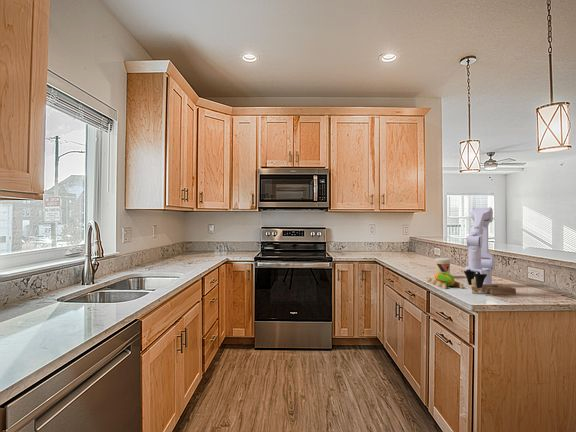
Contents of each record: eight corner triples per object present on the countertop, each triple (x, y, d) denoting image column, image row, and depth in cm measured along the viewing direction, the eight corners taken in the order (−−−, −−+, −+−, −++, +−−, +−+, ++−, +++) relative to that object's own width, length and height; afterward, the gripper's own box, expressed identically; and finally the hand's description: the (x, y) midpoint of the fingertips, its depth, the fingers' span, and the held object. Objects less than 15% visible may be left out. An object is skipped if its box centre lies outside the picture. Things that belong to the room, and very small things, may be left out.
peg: (470, 292, 175) (470, 279, 175) (476, 292, 175) (476, 278, 175) (473, 294, 171) (473, 280, 171) (480, 294, 171) (480, 280, 171)
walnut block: (478, 289, 181) (477, 284, 181) (500, 289, 181) (500, 283, 181) (491, 294, 169) (491, 288, 169) (515, 294, 169) (515, 288, 169)
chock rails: (426, 281, 207) (426, 276, 207) (443, 280, 207) (443, 276, 207) (444, 288, 184) (444, 284, 184) (463, 288, 184) (463, 284, 184)
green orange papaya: (445, 274, 186) (428, 268, 206) (444, 288, 186) (428, 281, 206) (458, 275, 186) (440, 269, 206) (458, 288, 186) (440, 282, 206)
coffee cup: (436, 278, 215) (436, 259, 215) (433, 276, 224) (432, 257, 224) (452, 278, 214) (452, 259, 214) (448, 276, 223) (447, 257, 223)
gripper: (459, 257, 180) (459, 283, 180) (474, 261, 166) (475, 289, 166) (472, 257, 180) (473, 283, 180) (489, 261, 166) (489, 289, 166)
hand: (475, 286), depth 173 cm, fingers open, 7 cm apart
